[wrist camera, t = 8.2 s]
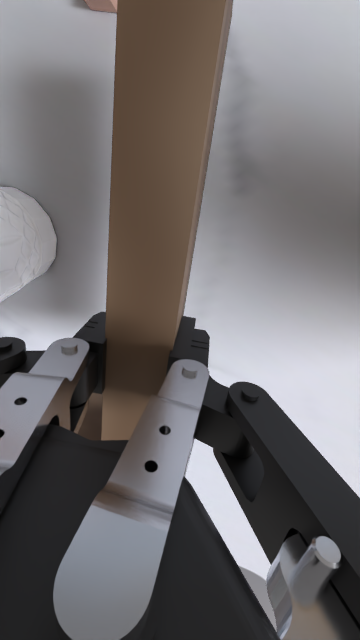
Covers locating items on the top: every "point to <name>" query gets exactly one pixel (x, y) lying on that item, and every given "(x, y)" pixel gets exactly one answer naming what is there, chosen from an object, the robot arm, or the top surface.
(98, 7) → the corral frame
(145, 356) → the wooden l-shaped bracket
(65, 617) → the robot arm
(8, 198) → the white cup
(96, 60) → the top surface
